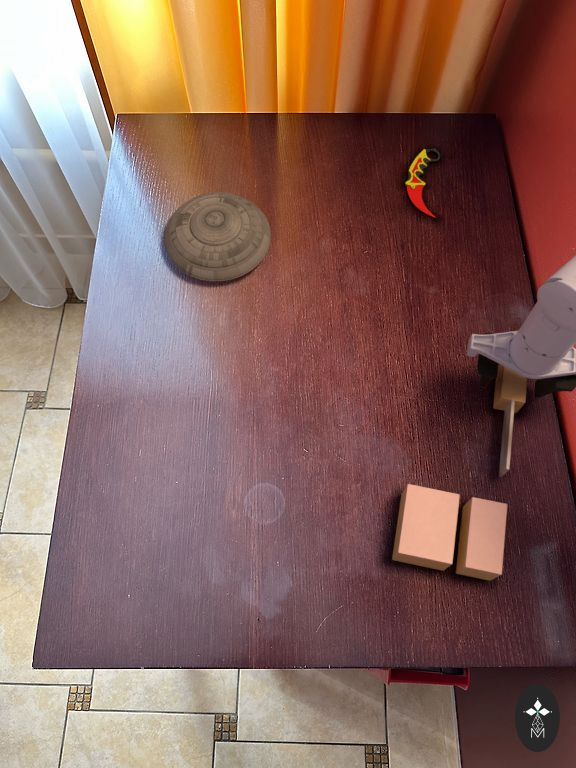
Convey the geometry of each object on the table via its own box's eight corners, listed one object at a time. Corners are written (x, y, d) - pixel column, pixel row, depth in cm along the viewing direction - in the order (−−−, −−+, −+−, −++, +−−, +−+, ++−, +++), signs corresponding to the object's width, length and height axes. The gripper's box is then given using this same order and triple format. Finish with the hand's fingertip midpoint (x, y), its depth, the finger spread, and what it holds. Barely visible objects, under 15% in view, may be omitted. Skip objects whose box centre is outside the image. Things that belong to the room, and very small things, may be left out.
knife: (437, 217, 99) (403, 212, 99) (436, 218, 100) (402, 213, 100) (441, 148, 104) (409, 143, 105) (440, 150, 105) (408, 145, 105)
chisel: (496, 367, 90) (504, 355, 87) (519, 371, 90) (528, 359, 86) (486, 475, 84) (495, 466, 81) (511, 480, 84) (520, 471, 80)
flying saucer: (143, 253, 97) (136, 229, 92) (207, 184, 102) (203, 157, 97) (230, 305, 93) (227, 283, 88) (291, 230, 99) (292, 205, 94)
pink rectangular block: (451, 504, 82) (460, 494, 78) (443, 570, 79) (452, 564, 75) (401, 494, 83) (407, 483, 79) (391, 560, 79) (398, 552, 75)
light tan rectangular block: (496, 513, 82) (507, 504, 78) (490, 581, 79) (502, 574, 74) (462, 506, 82) (472, 496, 78) (455, 573, 79) (465, 567, 75)
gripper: (615, 315, 76) (568, 368, 88) (484, 291, 77) (456, 347, 89) (615, 371, 73) (566, 418, 85) (479, 346, 74) (450, 395, 87)
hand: (509, 385), depth 87 cm, fingers open, 6 cm apart
